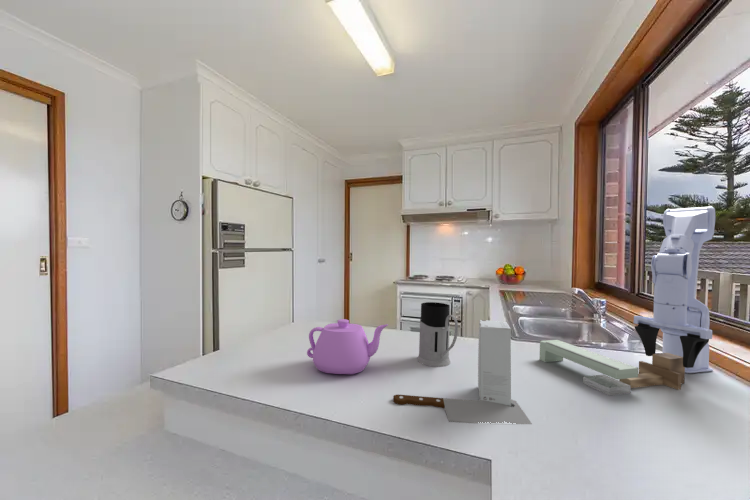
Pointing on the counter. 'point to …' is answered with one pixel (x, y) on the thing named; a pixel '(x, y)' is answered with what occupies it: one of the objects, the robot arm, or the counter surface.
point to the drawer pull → (585, 359)
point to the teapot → (343, 347)
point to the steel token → (606, 385)
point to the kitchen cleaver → (470, 409)
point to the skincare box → (494, 362)
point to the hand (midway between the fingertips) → (668, 361)
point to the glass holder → (435, 334)
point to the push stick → (659, 372)
